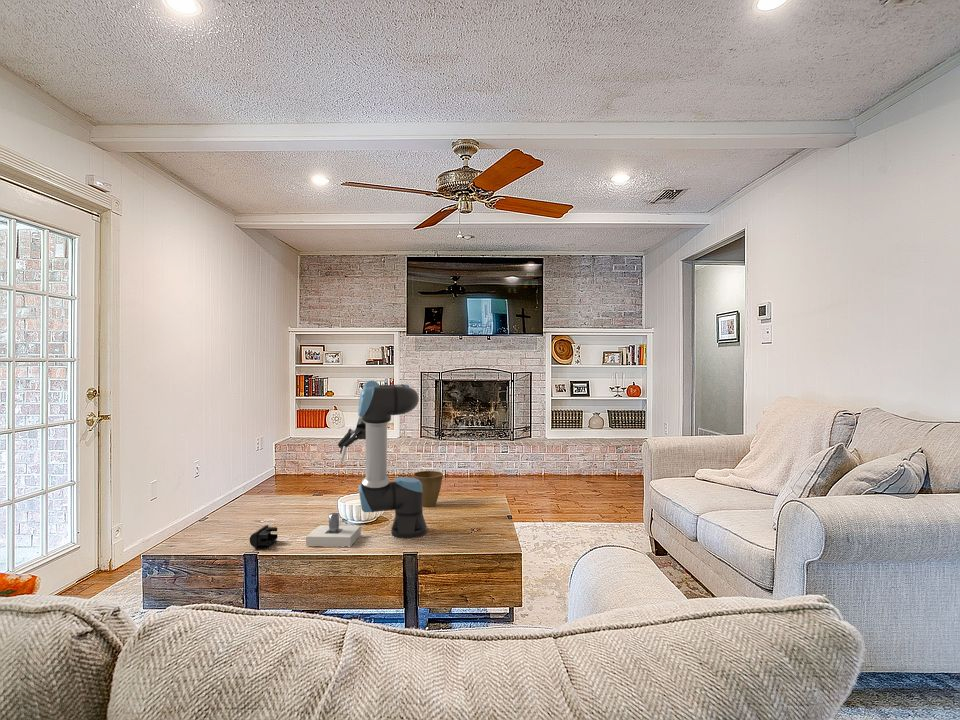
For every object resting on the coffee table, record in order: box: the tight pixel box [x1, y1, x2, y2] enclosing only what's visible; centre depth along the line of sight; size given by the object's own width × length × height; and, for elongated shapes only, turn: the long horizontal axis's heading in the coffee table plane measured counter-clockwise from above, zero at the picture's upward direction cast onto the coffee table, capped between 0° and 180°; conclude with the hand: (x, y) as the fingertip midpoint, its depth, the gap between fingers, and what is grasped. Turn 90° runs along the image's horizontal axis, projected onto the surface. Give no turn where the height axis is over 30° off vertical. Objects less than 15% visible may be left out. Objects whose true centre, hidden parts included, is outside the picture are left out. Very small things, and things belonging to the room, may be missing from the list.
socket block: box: [305, 524, 362, 548], centre depth 219 cm, size 18×14×4 cm
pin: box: [328, 512, 340, 534], centre depth 220 cm, size 4×4×11 cm
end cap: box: [249, 524, 278, 550], centre depth 216 cm, size 10×7×7 cm
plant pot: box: [412, 470, 444, 508], centre depth 270 cm, size 15×15×16 cm
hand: (356, 460), depth 238 cm, fingers open, 13 cm apart
